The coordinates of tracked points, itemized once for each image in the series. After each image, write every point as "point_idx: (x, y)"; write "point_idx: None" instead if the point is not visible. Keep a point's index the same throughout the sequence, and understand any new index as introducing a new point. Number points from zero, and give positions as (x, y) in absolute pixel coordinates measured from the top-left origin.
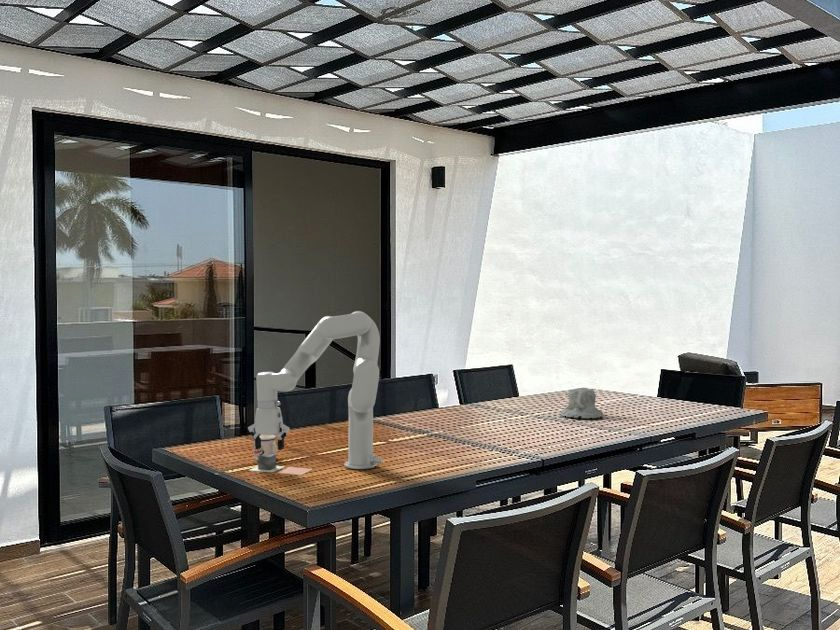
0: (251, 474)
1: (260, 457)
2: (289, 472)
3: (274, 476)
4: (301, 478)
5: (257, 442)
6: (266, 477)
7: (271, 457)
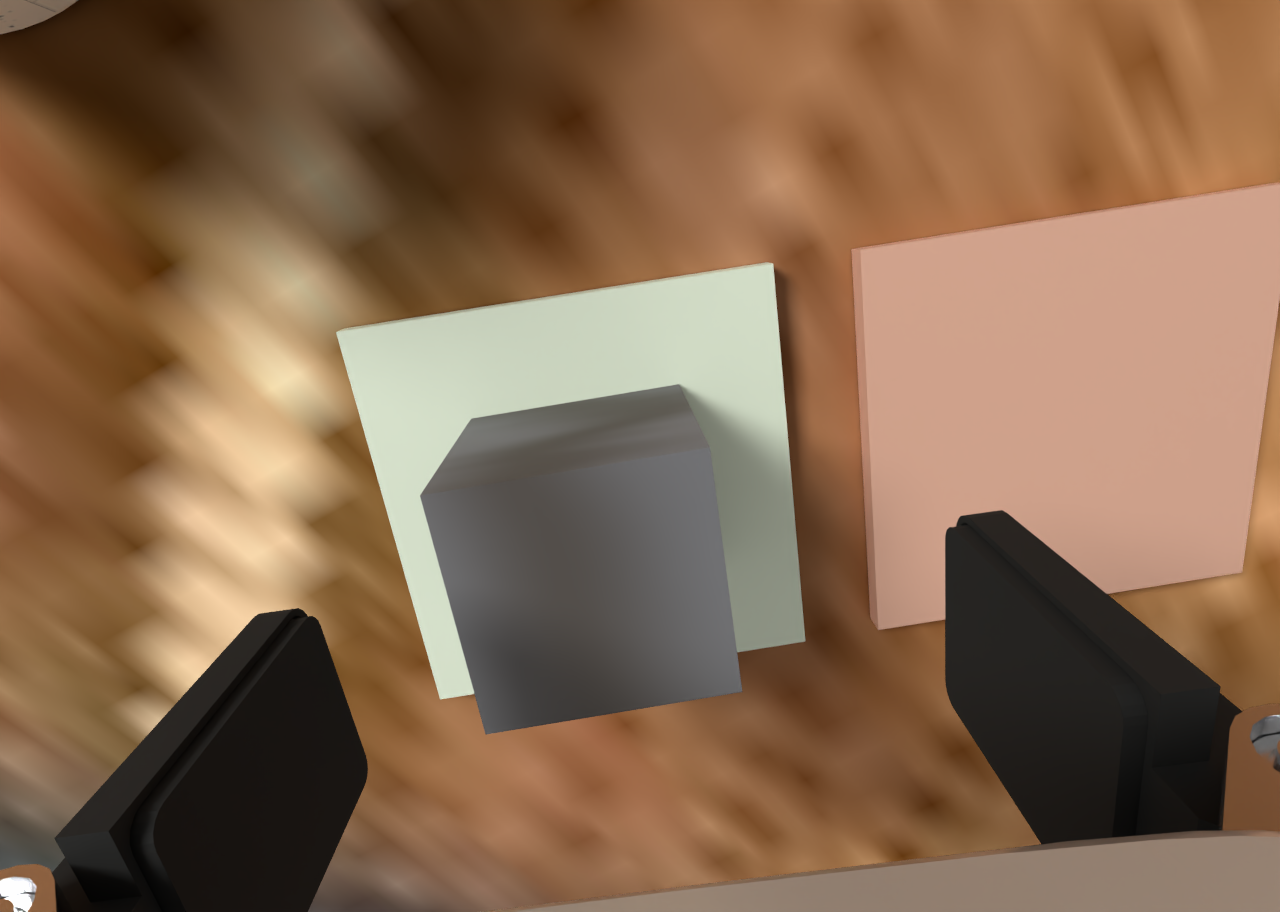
0: (577, 761)
1: (539, 709)
2: None
3: (895, 704)
4: (1257, 625)
5: (290, 905)
6: (832, 778)
7: (730, 621)
